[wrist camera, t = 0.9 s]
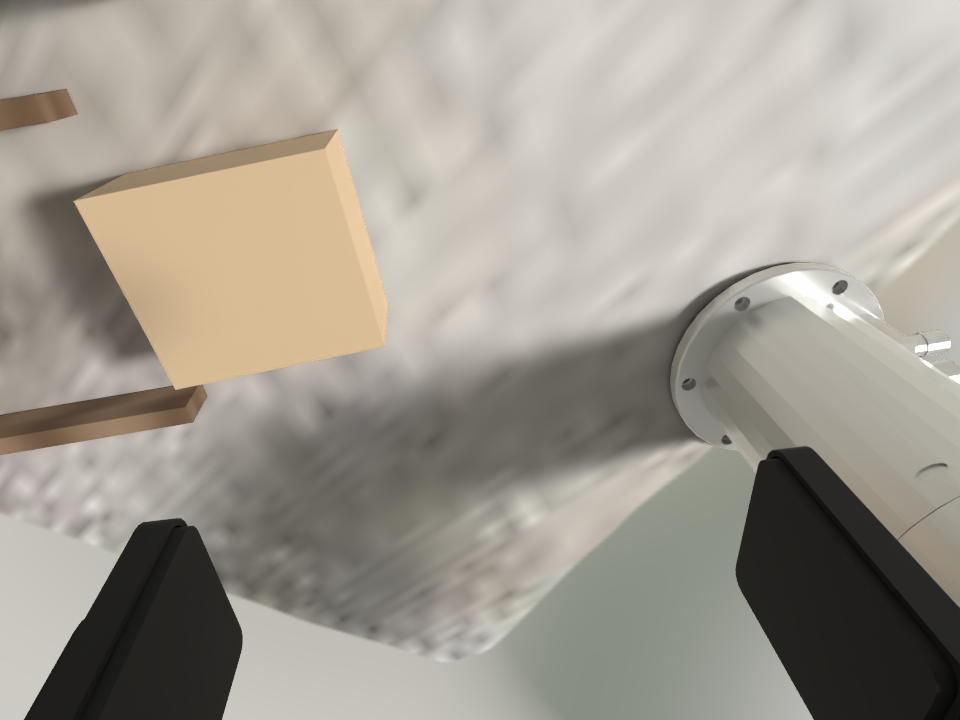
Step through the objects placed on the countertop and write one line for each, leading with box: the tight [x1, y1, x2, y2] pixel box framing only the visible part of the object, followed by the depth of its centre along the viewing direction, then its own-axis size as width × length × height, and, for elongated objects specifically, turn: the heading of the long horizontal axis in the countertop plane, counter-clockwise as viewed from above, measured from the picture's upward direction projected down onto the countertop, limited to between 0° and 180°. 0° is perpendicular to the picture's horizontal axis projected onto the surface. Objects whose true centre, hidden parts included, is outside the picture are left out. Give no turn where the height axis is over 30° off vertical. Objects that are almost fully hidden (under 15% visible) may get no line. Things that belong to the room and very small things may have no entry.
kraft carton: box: [74, 130, 388, 390], centre depth 27 cm, size 10×9×5 cm
